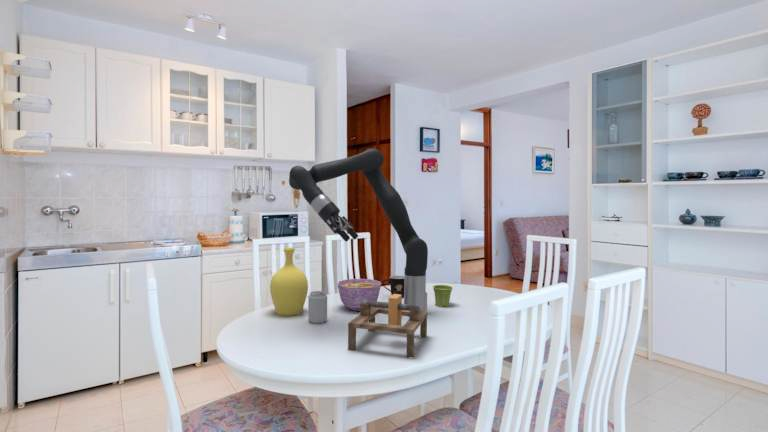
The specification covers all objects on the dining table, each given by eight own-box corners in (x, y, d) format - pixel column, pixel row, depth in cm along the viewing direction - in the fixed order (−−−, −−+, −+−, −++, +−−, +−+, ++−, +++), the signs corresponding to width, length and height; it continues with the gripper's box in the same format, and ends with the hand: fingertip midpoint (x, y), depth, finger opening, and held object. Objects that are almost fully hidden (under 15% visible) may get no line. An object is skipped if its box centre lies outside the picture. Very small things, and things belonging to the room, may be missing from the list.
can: (323, 324, 166) (323, 294, 165) (305, 323, 168) (305, 293, 167) (329, 319, 173) (329, 290, 173) (312, 318, 175) (312, 289, 174)
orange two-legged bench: (387, 329, 144) (388, 297, 143) (393, 324, 150) (393, 293, 149) (396, 330, 143) (396, 298, 142) (401, 325, 149) (401, 294, 148)
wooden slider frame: (348, 349, 140) (348, 307, 139) (370, 329, 161) (370, 293, 160) (412, 357, 133) (413, 314, 133) (426, 336, 154) (427, 298, 154)
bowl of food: (384, 303, 199) (385, 279, 199) (376, 315, 180) (376, 288, 179) (343, 301, 203) (343, 277, 202) (331, 312, 183) (331, 286, 182)
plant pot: (455, 304, 199) (455, 286, 199) (447, 309, 192) (447, 290, 191) (437, 301, 204) (437, 284, 204) (428, 305, 197) (429, 287, 196)
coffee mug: (408, 295, 216) (408, 276, 216) (403, 299, 208) (403, 279, 208) (386, 293, 220) (387, 274, 220) (381, 297, 212) (381, 277, 212)
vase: (273, 319, 172) (273, 251, 171) (267, 309, 187) (267, 246, 185) (311, 315, 179) (312, 249, 177) (303, 306, 193) (303, 245, 192)
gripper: (323, 201, 155) (352, 233, 152) (338, 201, 169) (365, 230, 166) (310, 215, 157) (338, 247, 154) (326, 214, 171) (352, 243, 168)
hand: (352, 238), depth 160 cm, fingers open, 8 cm apart
